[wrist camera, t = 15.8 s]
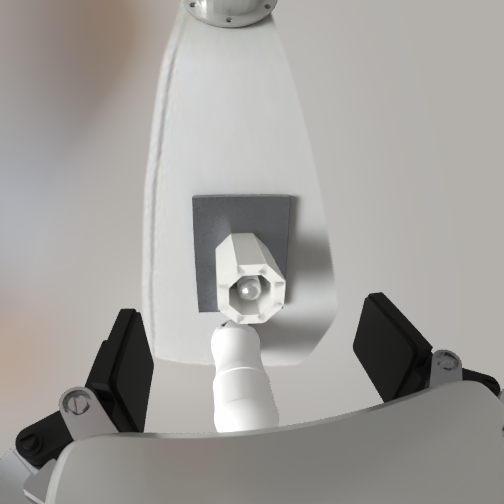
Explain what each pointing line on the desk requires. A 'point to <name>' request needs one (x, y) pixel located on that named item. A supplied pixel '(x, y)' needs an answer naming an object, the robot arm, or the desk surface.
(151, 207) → the desk surface
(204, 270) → the roll holder
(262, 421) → the water bottle
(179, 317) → the desk surface
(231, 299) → the white hollow octagonal tube
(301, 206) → the desk surface
